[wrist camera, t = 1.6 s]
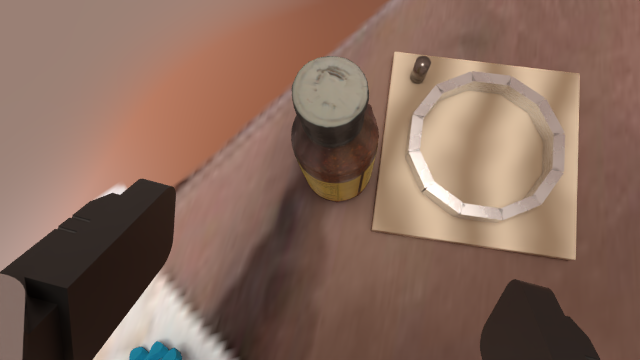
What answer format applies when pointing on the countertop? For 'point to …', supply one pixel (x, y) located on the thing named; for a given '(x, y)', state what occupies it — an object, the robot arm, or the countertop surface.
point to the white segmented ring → (517, 95)
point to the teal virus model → (155, 353)
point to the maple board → (478, 160)
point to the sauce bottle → (334, 127)
